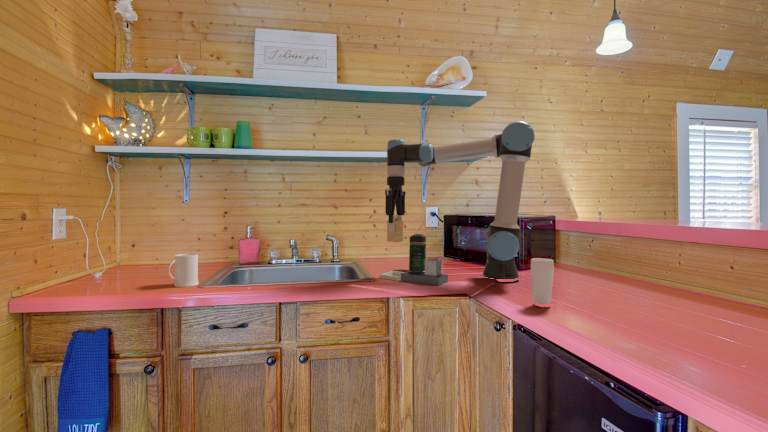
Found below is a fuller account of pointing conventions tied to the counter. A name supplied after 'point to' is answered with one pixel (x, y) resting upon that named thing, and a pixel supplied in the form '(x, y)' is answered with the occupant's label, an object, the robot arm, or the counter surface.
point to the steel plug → (433, 267)
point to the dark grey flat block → (423, 278)
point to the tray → (387, 276)
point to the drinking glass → (542, 279)
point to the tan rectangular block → (395, 232)
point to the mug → (185, 270)
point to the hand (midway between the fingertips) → (395, 230)
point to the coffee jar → (417, 252)
